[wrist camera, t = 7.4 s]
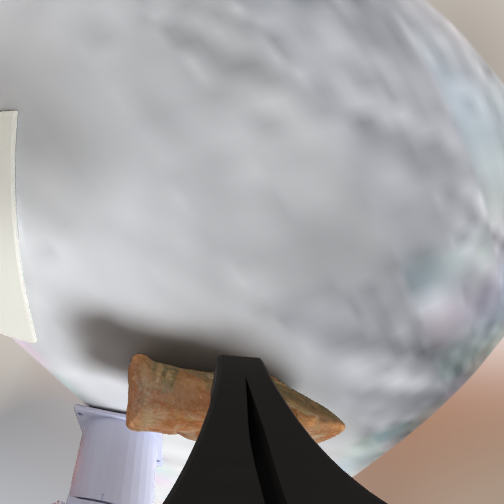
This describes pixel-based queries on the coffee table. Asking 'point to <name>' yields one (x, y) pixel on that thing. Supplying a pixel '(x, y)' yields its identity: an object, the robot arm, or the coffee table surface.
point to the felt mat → (11, 242)
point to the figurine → (201, 402)
